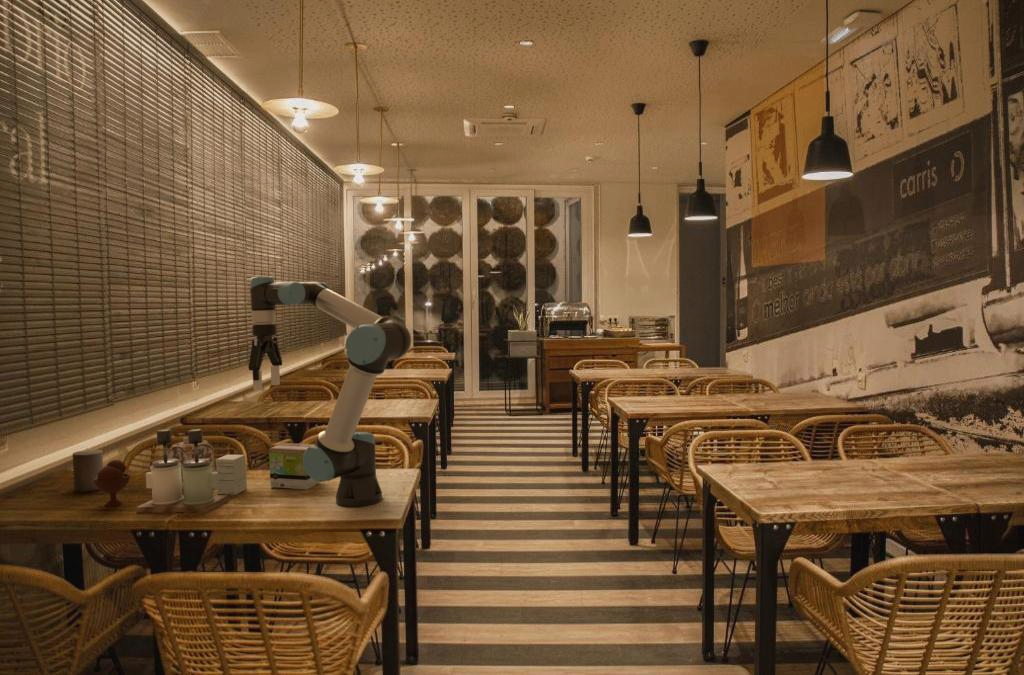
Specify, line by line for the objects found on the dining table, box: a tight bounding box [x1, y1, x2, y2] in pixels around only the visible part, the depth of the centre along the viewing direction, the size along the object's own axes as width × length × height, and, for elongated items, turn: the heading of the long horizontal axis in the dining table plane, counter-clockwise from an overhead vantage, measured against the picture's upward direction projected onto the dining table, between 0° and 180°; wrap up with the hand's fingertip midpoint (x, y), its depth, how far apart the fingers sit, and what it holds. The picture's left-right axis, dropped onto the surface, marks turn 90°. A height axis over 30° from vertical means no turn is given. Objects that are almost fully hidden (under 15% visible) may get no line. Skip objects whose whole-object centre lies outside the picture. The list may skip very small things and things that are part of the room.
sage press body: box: [181, 463, 219, 505], centre depth 241 cm, size 12×10×12 cm
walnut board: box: [136, 494, 229, 514], centre depth 243 cm, size 24×14×2 cm, turn 84°
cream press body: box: [145, 463, 184, 505], centre depth 243 cm, size 12×10×12 cm
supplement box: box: [215, 454, 248, 496], centre depth 259 cm, size 7×7×13 cm
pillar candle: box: [72, 449, 104, 493], centre depth 269 cm, size 10×10×15 cm
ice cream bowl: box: [93, 459, 131, 508], centre depth 247 cm, size 11×11×15 cm
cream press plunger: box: [151, 428, 179, 467], centre depth 242 cm, size 8×8×11 cm
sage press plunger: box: [184, 428, 210, 467], centre depth 241 cm, size 8×8×11 cm
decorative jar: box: [167, 436, 216, 490], centre depth 270 cm, size 12×12×18 cm
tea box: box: [268, 442, 321, 491], centre depth 266 cm, size 15×10×15 cm
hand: (267, 387), depth 242 cm, fingers open, 13 cm apart
